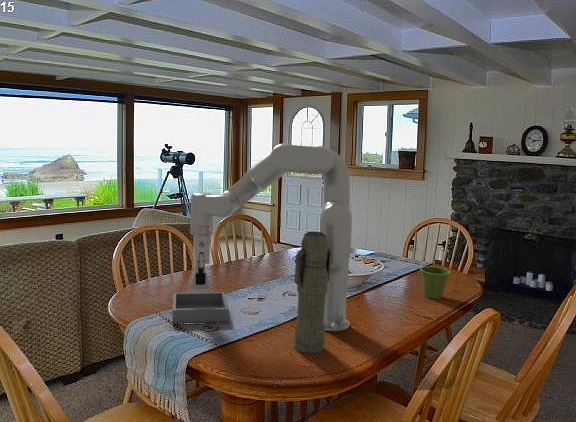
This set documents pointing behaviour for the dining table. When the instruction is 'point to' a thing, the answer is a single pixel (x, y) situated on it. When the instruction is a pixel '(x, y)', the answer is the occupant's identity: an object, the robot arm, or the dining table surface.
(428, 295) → the plant pot
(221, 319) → the bin
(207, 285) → the flask
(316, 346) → the grey stone statue
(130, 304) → the dining table surface
